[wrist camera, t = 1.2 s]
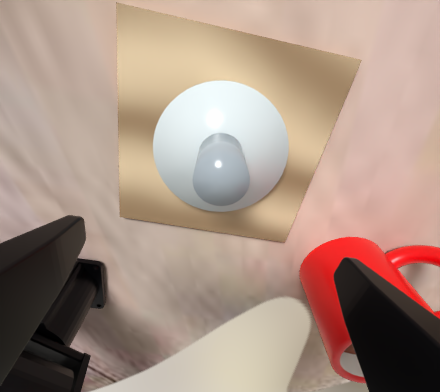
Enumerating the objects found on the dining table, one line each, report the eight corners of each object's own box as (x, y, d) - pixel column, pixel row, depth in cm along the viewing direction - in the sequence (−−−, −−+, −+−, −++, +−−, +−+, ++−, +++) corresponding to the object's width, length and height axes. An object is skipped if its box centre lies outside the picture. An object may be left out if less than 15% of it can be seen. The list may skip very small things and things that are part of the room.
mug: (440, 254, 22) (538, 342, 15) (321, 305, 26) (357, 394, 19) (415, 196, 19) (524, 272, 12) (284, 263, 23) (311, 351, 16)
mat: (283, 238, 21) (284, 242, 21) (121, 213, 20) (119, 216, 20) (357, 60, 14) (361, 59, 14) (119, 4, 13) (116, 2, 13)
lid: (265, 214, 19) (277, 256, 15) (152, 196, 18) (133, 236, 14) (304, 95, 15) (338, 109, 11) (159, 65, 14) (135, 67, 10)
